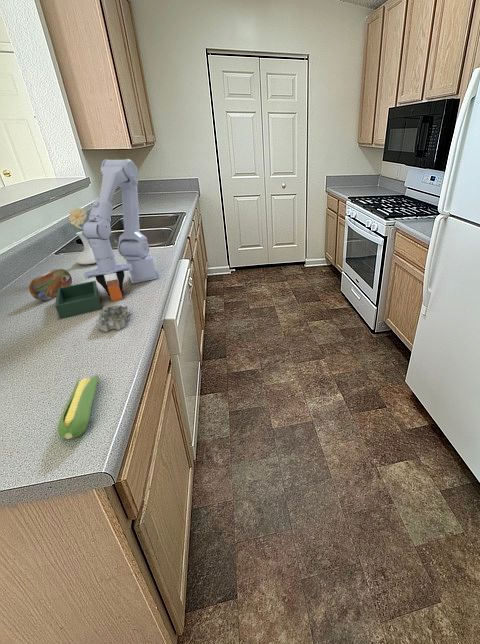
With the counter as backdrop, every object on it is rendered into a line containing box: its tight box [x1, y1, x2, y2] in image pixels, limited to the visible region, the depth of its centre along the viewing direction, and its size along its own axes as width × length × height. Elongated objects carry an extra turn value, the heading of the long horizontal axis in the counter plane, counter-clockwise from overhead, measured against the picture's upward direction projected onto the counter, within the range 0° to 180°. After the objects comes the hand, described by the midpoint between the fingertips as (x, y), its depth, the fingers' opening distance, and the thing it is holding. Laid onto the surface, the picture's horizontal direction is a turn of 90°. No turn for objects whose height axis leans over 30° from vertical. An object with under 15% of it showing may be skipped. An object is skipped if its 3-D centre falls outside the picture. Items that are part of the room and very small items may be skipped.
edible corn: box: [57, 374, 99, 440], centre depth 70 cm, size 5×20×5 cm, turn 19°
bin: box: [54, 280, 102, 320], centre depth 113 cm, size 12×16×4 cm
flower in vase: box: [68, 206, 97, 265], centre depth 144 cm, size 13×11×25 cm
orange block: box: [106, 278, 124, 302], centre depth 117 cm, size 4×7×5 cm, turn 31°
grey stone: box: [95, 305, 130, 333], centre depth 101 cm, size 11×8×4 cm
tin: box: [28, 268, 73, 301], centre depth 119 cm, size 15×3×8 cm, turn 168°
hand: (115, 292), depth 118 cm, fingers closed on orange block, 3 cm apart
